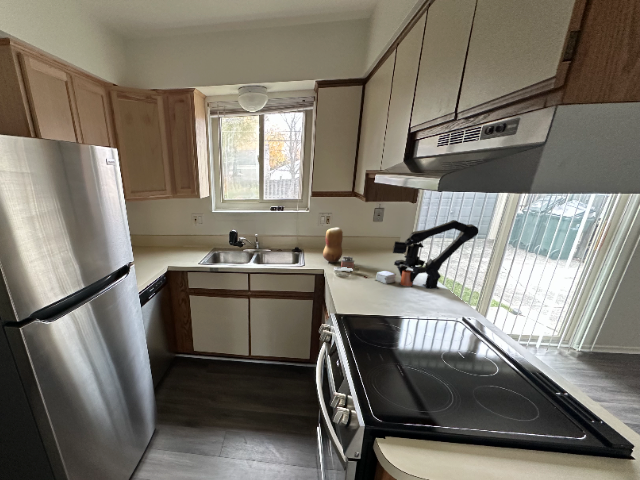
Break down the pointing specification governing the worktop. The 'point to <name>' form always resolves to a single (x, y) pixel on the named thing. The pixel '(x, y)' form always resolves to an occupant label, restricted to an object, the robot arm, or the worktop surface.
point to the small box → (385, 277)
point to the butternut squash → (333, 245)
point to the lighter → (348, 262)
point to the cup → (406, 278)
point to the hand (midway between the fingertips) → (407, 280)
